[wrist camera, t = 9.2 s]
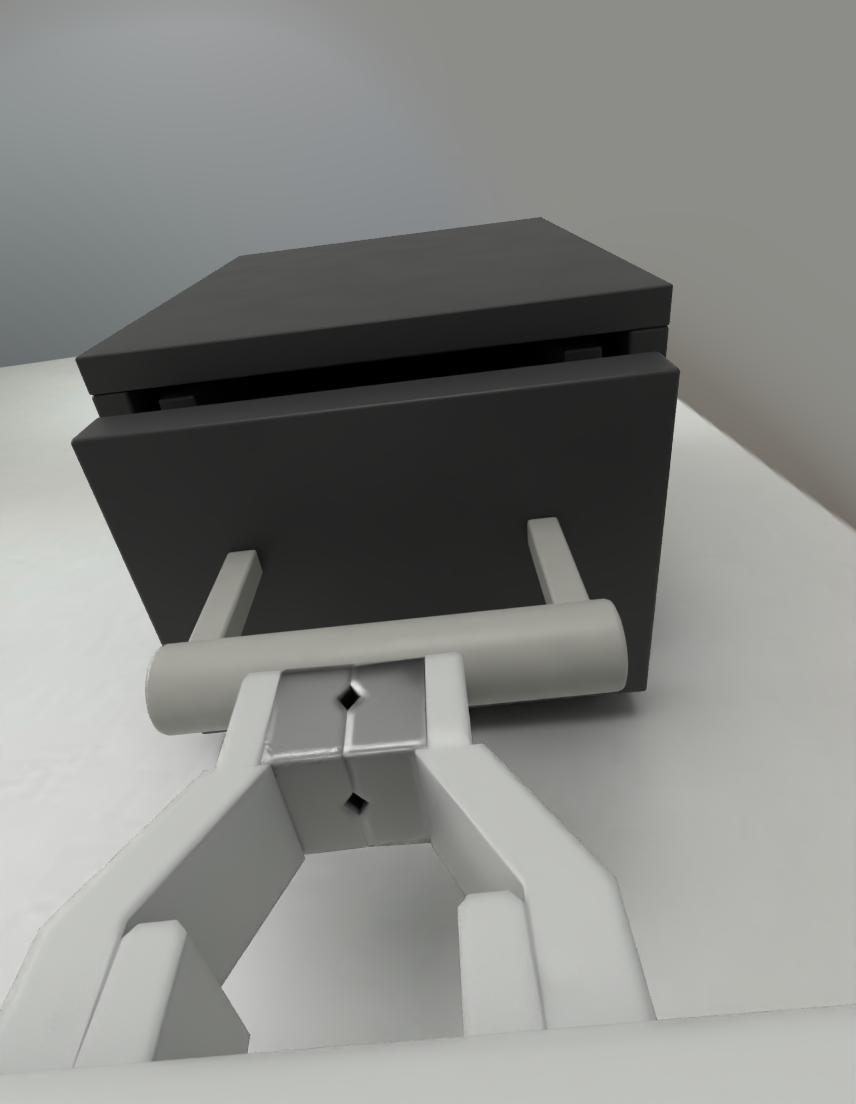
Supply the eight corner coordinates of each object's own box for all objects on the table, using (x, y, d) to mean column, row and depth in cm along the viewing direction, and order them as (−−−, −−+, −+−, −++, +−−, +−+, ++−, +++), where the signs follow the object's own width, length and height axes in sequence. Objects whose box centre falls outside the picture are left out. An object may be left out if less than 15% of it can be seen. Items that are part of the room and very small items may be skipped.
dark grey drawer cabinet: (639, 651, 17) (674, 283, 12) (213, 694, 18) (73, 358, 13) (544, 444, 30) (541, 217, 25) (293, 472, 30) (238, 255, 25)
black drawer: (720, 859, 11) (815, 475, 7) (139, 909, 12) (-91, 574, 8) (544, 458, 26) (542, 256, 22) (289, 487, 27) (239, 294, 23)
